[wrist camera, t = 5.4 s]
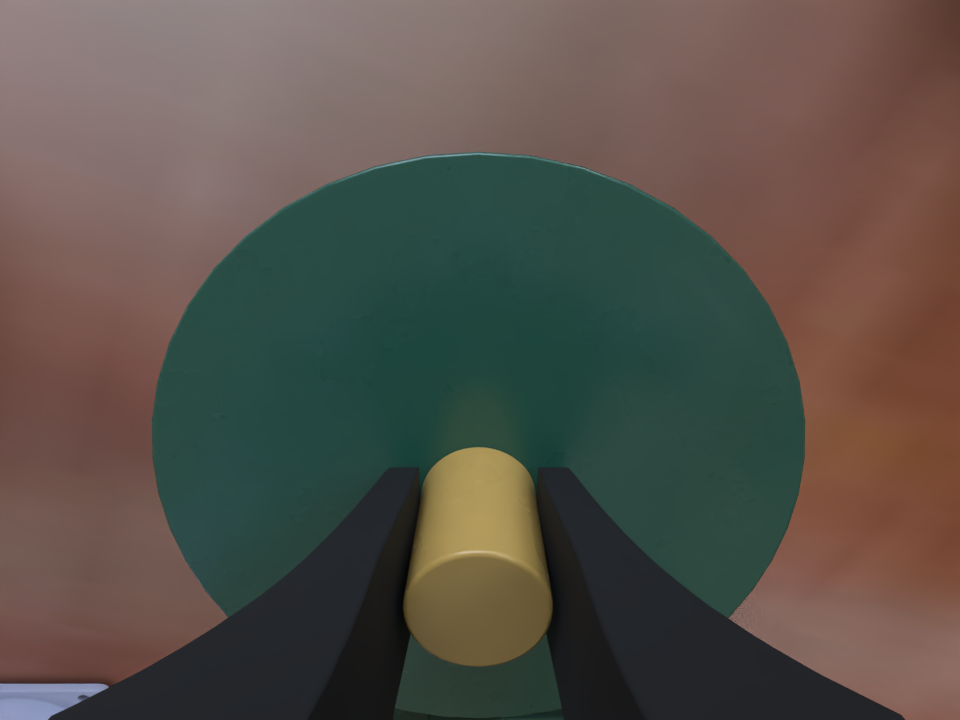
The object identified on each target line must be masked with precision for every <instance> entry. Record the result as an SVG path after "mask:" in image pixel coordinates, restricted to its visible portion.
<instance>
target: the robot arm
mask: <svg viewBox="0 0 960 720" xmlns="http://www.w3.org/2000/svg"><path fill="white" fill-rule="evenodd" d="M420 499H421V496H420V474H419V467H389V468H388V469H387V470H386V471H385V472H384V473H383V474H382V475H381V476H380V478H379V479H378V480H377V481H376V483H375V484H374V485H373V486H372V488H371V489H370V490H369V491H368V492H367V494H366V495H365V496H364V497H363V498H362V499H361V501H360V502H359V503H358V504H357V505H356V506H355V508H354V509H353V510H352V511H351V512H350V513H349V514H348V515H347V516H346V517H345V518H344V520H343V521H342V522H341V523H340V524H339V525H338V526H337V527H336V528H335V529H334V530H333V531H332V532H331V533H330V534H329V535H328V536H327V537H326V538H325V539H324V540H323V541H322V542H321V543H320V544H319V545H318V546H317V547H316V548H315V549H314V550H313V551H312V552H311V553H310V554H309V555H308V556H307V557H306V558H305V559H304V560H303V561H301V562H300V563H299V564H298V565H297V566H296V567H295V568H294V569H292V570H291V571H290V572H289V573H288V574H287V575H285V576H284V577H283V578H282V579H281V580H279V581H278V582H277V583H276V584H274V585H273V586H272V587H271V588H269V589H268V590H267V591H265V592H264V593H263V594H262V595H260V596H259V597H257V598H256V599H255V600H253V601H252V602H250V603H249V604H247V605H246V606H244V607H243V608H242V609H240V610H239V611H237V612H236V613H234V614H233V615H232V616H230V617H229V618H227V619H226V620H224V621H223V622H221V623H220V624H219V625H217V626H216V627H214V628H213V629H211V630H210V631H208V632H206V633H205V634H203V635H202V636H200V637H198V638H197V639H195V640H194V641H192V642H190V643H189V644H187V645H185V646H184V647H182V648H180V649H179V650H177V651H175V652H173V653H172V654H170V655H168V656H167V657H165V658H163V659H161V660H160V661H158V662H156V663H154V664H153V665H151V666H149V667H147V668H145V669H144V670H142V671H140V672H138V673H136V674H134V675H133V676H131V677H129V678H127V679H125V680H123V681H121V682H119V683H117V684H115V685H113V686H111V687H109V686H107V685H105V684H0V720H393V716H394V710H395V705H396V700H397V695H398V691H399V686H400V681H401V677H402V672H403V667H404V663H405V658H406V653H407V649H408V644H409V639H410V635H411V633H410V631H409V629H408V627H407V625H406V621H405V618H404V613H403V599H404V593H405V587H406V581H407V576H408V570H409V564H410V558H411V552H412V546H413V540H414V535H415V529H416V523H417V517H418V511H419V505H420ZM537 505H538V511H539V517H540V524H541V530H542V536H543V542H544V548H545V554H546V560H547V566H548V573H549V579H550V585H551V591H552V598H553V615H552V619H551V622H550V625H549V628H548V630H547V632H546V635H547V640H548V644H549V649H550V654H551V659H552V664H553V668H554V673H555V678H556V683H557V688H558V692H559V697H560V702H561V707H562V713H563V719H564V720H905V719H904V718H903V717H902V715H900V714H898V713H896V712H894V711H892V710H890V709H888V708H886V707H884V706H882V705H880V704H878V703H876V702H874V701H872V700H870V699H868V698H866V697H864V696H862V695H860V694H858V693H856V692H854V691H852V690H850V689H848V688H846V687H844V686H842V685H840V684H838V683H836V682H834V681H832V680H830V679H828V678H826V677H824V676H822V675H820V674H819V673H817V672H815V671H813V670H811V669H810V668H808V667H806V666H804V665H803V664H801V663H799V662H797V661H796V660H794V659H792V658H790V657H789V656H787V655H785V654H783V653H782V652H780V651H778V650H777V649H775V648H773V647H771V646H770V645H768V644H767V643H765V642H763V641H762V640H760V639H759V638H757V637H755V636H754V635H752V634H751V633H749V632H747V631H746V630H744V629H743V628H741V627H740V626H738V625H737V624H736V623H734V622H733V621H731V620H730V619H728V618H727V617H725V616H724V615H722V614H721V613H719V612H718V611H716V610H715V609H713V608H712V607H711V606H709V605H708V604H707V603H705V602H704V601H702V600H701V599H700V598H698V597H697V596H696V595H694V594H693V593H692V592H691V591H689V590H688V589H687V588H686V587H684V586H683V585H682V584H681V583H679V582H678V581H677V580H676V579H674V578H673V577H672V576H671V575H669V574H668V573H667V572H666V571H665V570H663V569H662V568H661V567H660V566H659V565H658V564H657V563H655V562H654V561H653V560H652V559H651V558H650V557H649V556H648V555H647V554H646V553H645V552H644V551H643V550H642V549H640V548H639V547H638V546H637V545H636V544H635V543H634V542H633V541H632V540H631V539H630V538H629V537H628V536H627V534H626V533H625V532H624V531H623V530H622V529H621V528H620V527H619V526H618V525H617V524H616V523H615V522H614V520H613V519H612V518H611V517H610V516H609V515H608V514H607V513H606V512H605V511H604V509H603V508H602V507H601V506H600V505H599V504H598V502H597V501H596V500H595V499H594V498H593V497H592V495H591V494H590V493H589V492H588V490H587V489H586V488H585V487H584V486H583V484H582V483H581V482H580V480H579V479H578V478H577V477H576V475H575V474H574V473H573V472H572V471H571V470H570V469H569V468H568V467H538V478H537Z"/></svg>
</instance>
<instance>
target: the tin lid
mask: <svg viewBox="0 0 960 720" xmlns="http://www.w3.org/2000/svg"><path fill="white" fill-rule="evenodd" d="M152 449H153V463H154V469H155V475H156V481H157V487H158V493H159V497H160V500H161V503H162V506H163V509H164V512H165V515H166V518H167V521H168V524H169V527H170V530H171V532H172V534H173V536H174V538H175V540H176V542H177V544H178V546H179V548H180V550H181V552H182V554H183V557H184V559H185V561H186V562H187V564H188V565H189V567H190V568H191V570H192V571H193V573H194V574H195V576H196V577H197V579H198V580H199V582H200V583H201V585H202V586H203V588H204V589H205V591H206V592H207V593H208V594H209V595H210V597H211V598H212V599H213V600H214V601H215V602H216V604H217V605H218V606H219V607H220V608H221V609H222V611H223V612H224V613H225V614H226V615H227V616H228V617H230V616H232V615H233V614H234V613H236V612H237V611H239V610H240V609H242V608H243V607H244V606H246V605H247V604H249V603H250V602H252V601H253V600H255V599H256V598H257V597H259V596H260V595H262V594H263V593H264V592H265V591H267V590H268V589H269V588H271V587H272V586H273V585H274V584H276V583H277V582H278V581H279V580H281V579H282V578H283V577H284V576H285V575H287V574H288V573H289V572H290V571H291V570H292V569H294V568H295V567H296V566H297V565H298V564H299V563H300V562H301V561H303V560H304V559H305V558H306V557H307V556H308V555H309V554H310V553H311V552H312V551H313V550H314V549H315V548H316V547H317V546H318V545H319V544H320V543H321V542H322V541H323V540H324V539H325V538H326V537H327V536H328V535H329V534H330V533H331V532H332V531H333V530H334V529H335V528H336V527H337V526H338V525H339V524H340V523H341V522H342V521H343V520H344V518H345V517H346V516H347V515H348V514H349V513H350V512H351V511H352V510H353V509H354V508H355V506H356V505H357V504H358V503H359V502H360V501H361V499H362V498H363V497H364V496H365V495H366V494H367V492H368V491H369V490H370V489H371V488H372V486H373V485H374V484H375V483H376V481H377V480H378V479H379V478H380V476H381V475H382V474H383V473H384V472H385V471H386V470H387V469H388V468H389V467H419V474H420V496H421V499H420V505H419V511H418V517H417V523H416V529H415V535H414V540H413V546H412V552H411V558H410V564H409V570H408V576H407V581H406V587H405V593H404V599H403V613H404V618H405V621H406V625H407V627H408V629H409V631H410V633H411V635H410V639H409V644H408V649H407V653H406V658H405V663H404V667H403V672H402V677H401V681H400V686H399V691H398V695H397V700H396V705H395V708H396V709H400V710H404V711H409V712H415V713H422V714H430V715H437V716H444V717H465V718H493V717H514V716H521V715H528V714H535V713H543V712H549V711H553V710H557V709H562V707H561V702H560V697H559V692H558V688H557V683H556V678H555V673H554V668H553V664H552V659H551V654H550V649H549V644H548V640H547V635H546V632H547V630H548V628H549V625H550V622H551V619H552V615H553V598H552V591H551V585H550V579H549V573H548V566H547V560H546V554H545V548H544V542H543V536H542V530H541V524H540V517H539V511H538V505H537V478H538V467H568V468H569V469H570V470H571V471H572V472H573V473H574V474H575V475H576V477H577V478H578V479H579V480H580V482H581V483H582V484H583V486H584V487H585V488H586V489H587V490H588V492H589V493H590V494H591V495H592V497H593V498H594V499H595V500H596V501H597V502H598V504H599V505H600V506H601V507H602V508H603V509H604V511H605V512H606V513H607V514H608V515H609V516H610V517H611V518H612V519H613V520H614V522H615V523H616V524H617V525H618V526H619V527H620V528H621V529H622V530H623V531H624V532H625V533H626V534H627V536H628V537H629V538H630V539H631V540H632V541H633V542H634V543H635V544H636V545H637V546H638V547H639V548H640V549H642V550H643V551H644V552H645V553H646V554H647V555H648V556H649V557H650V558H651V559H652V560H653V561H654V562H655V563H657V564H658V565H659V566H660V567H661V568H662V569H663V570H665V571H666V572H667V573H668V574H669V575H671V576H672V577H673V578H674V579H676V580H677V581H678V582H679V583H681V584H682V585H683V586H684V587H686V588H687V589H688V590H689V591H691V592H692V593H693V594H694V595H696V596H697V597H698V598H700V599H701V600H702V601H704V602H705V603H707V604H708V605H709V606H711V607H712V608H713V609H715V610H716V611H718V612H719V613H721V614H722V615H724V616H725V617H727V618H729V617H730V616H731V615H732V613H733V612H734V611H735V610H736V609H737V608H738V606H739V605H740V604H741V603H742V602H743V601H744V599H745V598H746V597H747V596H748V595H749V594H750V592H751V591H752V590H753V589H754V587H755V586H756V584H757V582H758V581H759V579H760V578H761V576H762V575H763V573H764V572H765V570H766V569H767V567H768V566H769V564H770V563H771V561H772V559H773V557H774V555H775V553H776V551H777V549H778V547H779V545H780V543H781V541H782V539H783V537H784V535H785V533H786V531H787V528H788V525H789V522H790V519H791V516H792V513H793V510H794V507H795V504H796V500H797V497H798V494H799V488H800V482H801V476H802V470H803V464H804V458H805V417H804V410H803V403H802V396H801V389H800V382H799V378H798V375H797V372H796V369H795V366H794V362H793V359H792V356H791V353H790V349H789V346H788V343H787V341H786V339H785V337H784V335H783V333H782V331H781V329H780V327H779V325H778V323H777V321H776V319H775V317H774V315H773V313H772V310H771V308H770V306H769V305H768V303H767V302H766V300H765V299H764V298H763V296H762V295H761V293H760V292H759V291H758V289H757V288H756V286H755V285H754V283H753V282H752V281H751V279H750V278H749V276H748V275H747V274H746V272H745V271H744V269H743V268H742V267H741V266H740V265H739V264H738V263H737V262H736V261H735V260H734V259H733V258H732V257H731V256H730V255H729V254H728V253H727V252H726V251H725V250H724V249H723V248H722V247H721V246H720V245H719V244H718V243H717V242H716V241H715V240H714V239H713V238H712V237H711V236H710V235H709V234H707V233H706V232H705V231H703V230H702V229H701V228H699V227H698V226H697V225H695V224H694V223H693V222H691V221H690V220H689V219H687V218H686V217H685V216H683V215H682V214H681V213H680V212H678V211H677V210H676V209H674V208H673V207H671V206H669V205H667V204H665V203H664V202H662V201H660V200H658V199H656V198H654V197H652V196H651V195H649V194H647V193H645V192H643V191H641V190H640V189H638V188H636V187H634V186H632V185H630V184H628V183H625V182H622V181H620V180H617V179H614V178H612V177H609V176H606V175H603V174H601V173H598V172H595V171H593V170H590V169H587V168H584V167H582V166H577V165H572V164H568V163H563V162H558V161H553V160H549V159H544V158H539V157H535V156H530V155H518V154H503V153H489V152H467V153H453V154H439V155H427V156H422V157H417V158H412V159H408V160H403V161H398V162H394V163H389V164H384V165H380V166H375V167H372V168H369V169H367V170H364V171H361V172H359V173H356V174H353V175H350V176H348V177H345V178H342V179H340V180H337V181H334V182H331V183H329V184H326V185H324V186H323V187H321V188H319V189H317V190H315V191H313V192H312V193H310V194H308V195H306V196H304V197H302V198H300V199H299V200H297V201H295V202H293V203H291V204H289V205H288V206H286V207H284V208H282V209H281V210H280V211H278V212H277V213H276V214H274V215H273V216H272V217H270V218H269V219H268V220H267V221H265V222H264V223H263V224H261V225H260V226H259V227H257V228H256V229H255V230H253V231H252V232H251V233H249V234H248V235H247V236H245V237H244V238H243V239H242V240H241V241H240V242H239V243H238V245H237V246H236V247H235V248H234V249H233V250H232V251H231V252H230V253H229V254H228V255H227V256H226V257H225V258H224V259H223V260H222V261H221V262H220V263H219V264H218V265H217V266H216V267H215V268H214V269H213V271H212V272H211V273H210V275H209V276H208V278H207V279H206V280H205V282H204V283H203V285H202V286H201V287H200V289H199V290H198V292H197V293H196V294H195V296H194V297H193V299H192V300H191V302H190V303H189V304H188V306H187V308H186V310H185V312H184V314H183V316H182V318H181V320H180V322H179V324H178V326H177V328H176V330H175V332H174V335H173V337H172V339H171V341H170V343H169V346H168V349H167V352H166V356H165V359H164V362H163V365H162V369H161V372H160V375H159V378H158V382H157V389H156V396H155V403H154V410H153V417H152Z"/></svg>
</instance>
